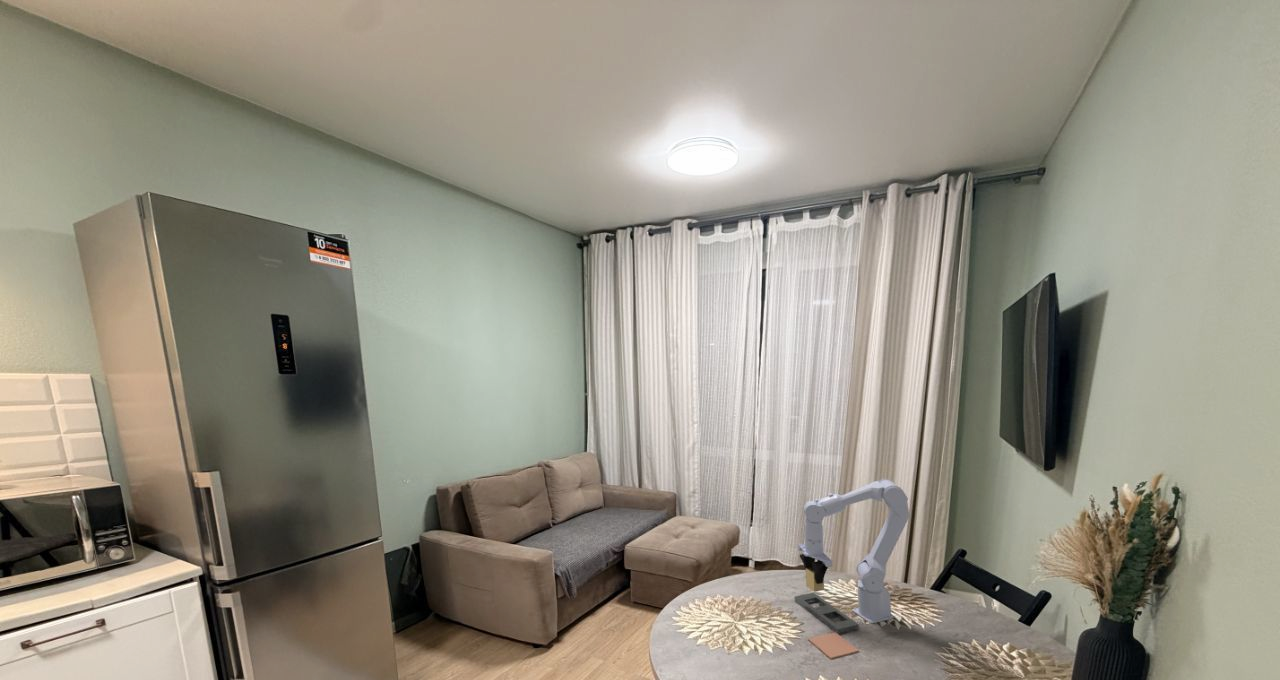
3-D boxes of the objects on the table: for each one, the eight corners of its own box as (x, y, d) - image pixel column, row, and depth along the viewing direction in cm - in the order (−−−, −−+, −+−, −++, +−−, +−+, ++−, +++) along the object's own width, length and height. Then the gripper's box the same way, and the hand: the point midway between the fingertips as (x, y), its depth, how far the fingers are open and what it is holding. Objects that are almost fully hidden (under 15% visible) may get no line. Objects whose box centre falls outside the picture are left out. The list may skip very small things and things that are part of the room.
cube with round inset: (815, 584, 151) (815, 566, 152) (824, 589, 148) (823, 571, 148) (806, 586, 150) (805, 567, 150) (814, 591, 146) (813, 573, 147)
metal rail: (813, 597, 155) (813, 592, 155) (858, 629, 136) (858, 624, 136) (794, 600, 152) (794, 596, 152) (837, 634, 133) (837, 629, 134)
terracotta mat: (835, 633, 134) (835, 632, 134) (858, 651, 125) (858, 650, 125) (808, 640, 131) (808, 638, 131) (830, 659, 122) (830, 657, 122)
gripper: (790, 532, 155) (791, 572, 155) (819, 548, 142) (820, 592, 141) (806, 530, 158) (807, 569, 157) (837, 545, 144) (838, 588, 143)
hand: (814, 579), depth 149 cm, fingers closed on cube with round inset, 4 cm apart
